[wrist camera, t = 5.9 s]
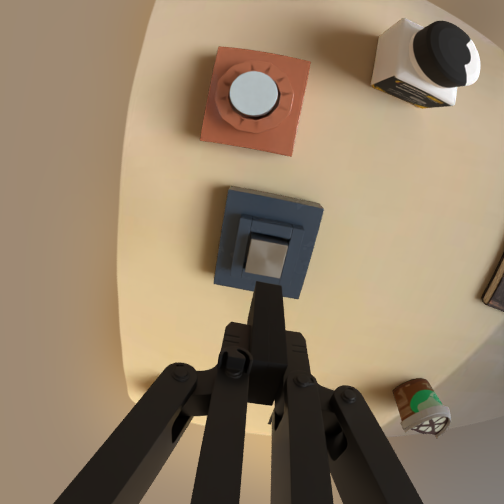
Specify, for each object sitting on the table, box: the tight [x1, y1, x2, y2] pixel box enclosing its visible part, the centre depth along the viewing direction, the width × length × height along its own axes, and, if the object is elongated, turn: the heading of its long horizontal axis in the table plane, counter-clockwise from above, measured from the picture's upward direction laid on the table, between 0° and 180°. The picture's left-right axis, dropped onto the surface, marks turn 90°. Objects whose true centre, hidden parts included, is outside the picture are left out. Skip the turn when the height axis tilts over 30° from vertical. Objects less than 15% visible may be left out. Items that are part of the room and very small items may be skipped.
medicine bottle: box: [371, 18, 480, 108], centre depth 19 cm, size 7×7×12 cm
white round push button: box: [230, 71, 278, 117], centre depth 22 cm, size 4×4×2 cm
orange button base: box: [200, 46, 311, 157], centre depth 25 cm, size 10×9×5 cm
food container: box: [393, 378, 451, 438], centre depth 38 cm, size 12×6×10 cm, turn 58°
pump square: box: [245, 233, 288, 278], centre depth 29 cm, size 4×4×2 cm
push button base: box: [214, 186, 324, 299], centre depth 32 cm, size 11×10×4 cm
